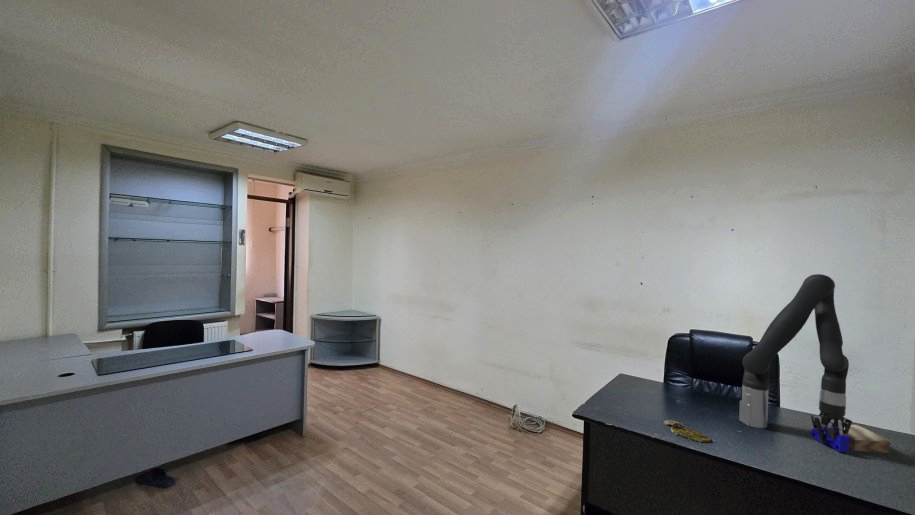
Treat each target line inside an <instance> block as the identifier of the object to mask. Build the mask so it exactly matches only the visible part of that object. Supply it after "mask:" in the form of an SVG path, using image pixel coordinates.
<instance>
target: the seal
mask: <svg viewBox="0 0 915 515" xmlns="http://www.w3.org/2000/svg"><path fill="white" fill-rule="evenodd" d="M670 431H671V432H672V433H673V432H674V433H675V434H674V433H673V434H674V435H676V434H677V435H676V436H678V435H679V436H681V437H680V438H682V437H683V438H682V439H685V438H686V439H685V440H688V439H689V440H688V441H690V440H692V441H691V442H694V441H696V442H695V443H699V442H703V444H709V443H710V442H711V443H712V442H713V440H712V438H710V437H709V436H708V435H705V434H703V433H702V432H701V431H696V430H694V429H692V428H687V427H685V426H684V425H683V424H682V423H681V422H676V421H674V422H673V423H672V424H671V427H670ZM679 436H678V437H679Z"/></svg>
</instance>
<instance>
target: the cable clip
mask: <svg viewBox="0 0 915 515" xmlns="http://www.w3.org/2000/svg"><path fill="white" fill-rule="evenodd" d="M824 425H825V424H824ZM825 426H827V425H825ZM823 430H824V428H823ZM810 432H811V433H810V436H811V437H813V438H815V439H816V440H817V441H819V442H821V443H822V444H827V445H829V446H831V448H833V449H835V450H837V451H838V452H840V453H842V452H843V453H850V452H849V451H850V450H849V449H850V448H849V439H850V438H849V437H848V436H844V435H837V438H836V440H834V439H833V438H832V437H831V436H830V434H829V432H827V442H826V443H824V442H822V441H820V439H819V431H817V430H815V429H814V428H811V430H810Z"/></svg>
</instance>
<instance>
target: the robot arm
mask: <svg viewBox="0 0 915 515" xmlns="http://www.w3.org/2000/svg"><path fill="white" fill-rule="evenodd" d="M835 288H836V283H835V281H834V280H833V278H831V277H830V276H828V275H825V274H820V273H818V274H817V273H815V274H811V275H809V276H807V277H806V278H805V279H804V280H803V282H802V284H801V286H800V288H799V289H798V291H797V292H796V294H795V296H794V297H793V298H792V299H791V301H790V302H788V304H786V305H785V306H784V308H783V309H781V310H780V312H779V313H778V314H777V315H775V317H774V319H772V321H771V322H770V324H769V325H768V327H767V328H766V330H765V331H764V333H763V335H762V336H761V338H760V340H759V341H758V343H757V344H756V345H755V346H754V347H753V349H751V351H749V352H747V353H746V354H745V355H744V356H743V359H742V366H743V368H744V369H743V370H744V372H743V377H742V390H741V391H742V392H741V400H739V410H738V411H739V412H738V413H739V415H738V416H739V417H738V420H739V421H740V422H741V423H743V424H744V425H745V426H747V427H752V428H757V429H767V427H768V416H769V415H768V411H769V408H768V407H769V388H770V387H769V385H770V377H771V376H770V375H771V364H772V362H773V361H774V358H776V356H777V354H778V353H779V352H781V350H783V349H784V348H785V347H786V346H787V345H788V344H789V343H790V342H791V341H792V340H793V339H794V338H795V337H796V336H797V335H798V333H799V332H800V331H801V330H802V329H803V327H804V326H805V325H806V322H808V320H809V318H810V316H811V313H812V312H813V310H814V319H815V320H814V321H815V329H816V334H817V335H816V336H817V339H818V343H819V360H820V363H821V365H822V366H823V367H824V370H823V372H824V373H823V375H822V376H821V379H820V381H821V382H820V392H819V397H818V398H819V401H818V410H819V413H818V415H811V416H810V418H811V422H812V426H813V429H815V430H817V431H819V439H820V441H822V442H824V443H823V444H827V443H826V442H827V432H828V430H829V429H830V428H831V427H833V428H834V431H835V433H834V440H836V438H837V435H843V434H848V432H849V429H850V426H851V425H853V424H852V423H853V420H851V419H850V418H847V417H845V416H846V410H847V409H846V408H847V395H846V393H847V392H846V390H847V377H848V371H849V367H850V366H849V365H850V363H849V361H850V360H849V359H848V357H847V356H846V355H844V353H843V343H844V341H843V337H842V336H843V335H842V331H841V326H840V323H839V320H838V319H839V318H838V317H837V316H838V315H837V312H836V306H835ZM824 424H825V425H827V426H825V425H824ZM823 428H824V430H823ZM844 428H845V430H844ZM820 441H819V442H820ZM822 442H821V443H822Z"/></svg>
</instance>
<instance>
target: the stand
mask: <svg viewBox="0 0 915 515" xmlns="http://www.w3.org/2000/svg"><path fill="white" fill-rule="evenodd" d="M844 430H845V428H844ZM828 432H829V434H830V436H831V437H832V438H833V439H834V433H835V431H834V428H833V427H831V428H830V429H829V430H828ZM843 435H844V436H848V437H849V438H850V439H849V449H851V450H853V451H854V452H856V451H857V452H868V453H884V454H890V453H891V440H890V439H888V438H887V437H884V436H881V435H880V434H878V433H875V432H873V431H871V430H869V429H867V428H865V427H862V426H860V425H858V424H851V426H850V429H849V432H848V434H843Z"/></svg>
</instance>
